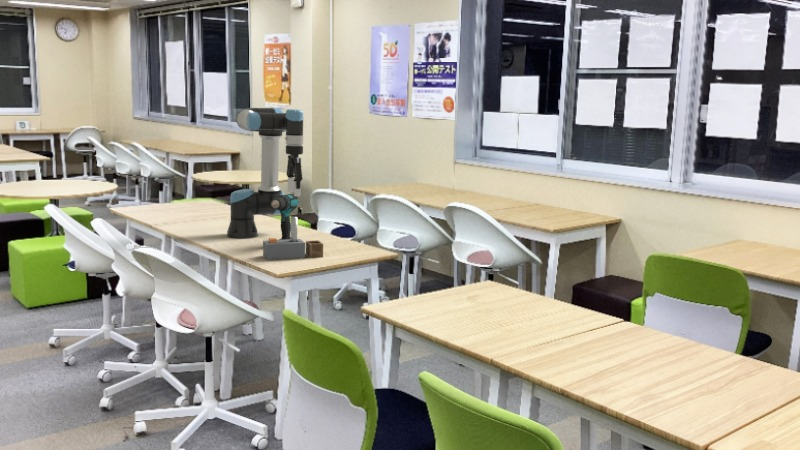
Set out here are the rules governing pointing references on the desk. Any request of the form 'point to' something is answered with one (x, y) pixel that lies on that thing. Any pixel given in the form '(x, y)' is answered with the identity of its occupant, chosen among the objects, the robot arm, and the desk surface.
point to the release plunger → (272, 240)
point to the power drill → (285, 212)
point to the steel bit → (294, 229)
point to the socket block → (284, 249)
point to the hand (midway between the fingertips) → (294, 194)
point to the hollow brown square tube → (314, 248)
